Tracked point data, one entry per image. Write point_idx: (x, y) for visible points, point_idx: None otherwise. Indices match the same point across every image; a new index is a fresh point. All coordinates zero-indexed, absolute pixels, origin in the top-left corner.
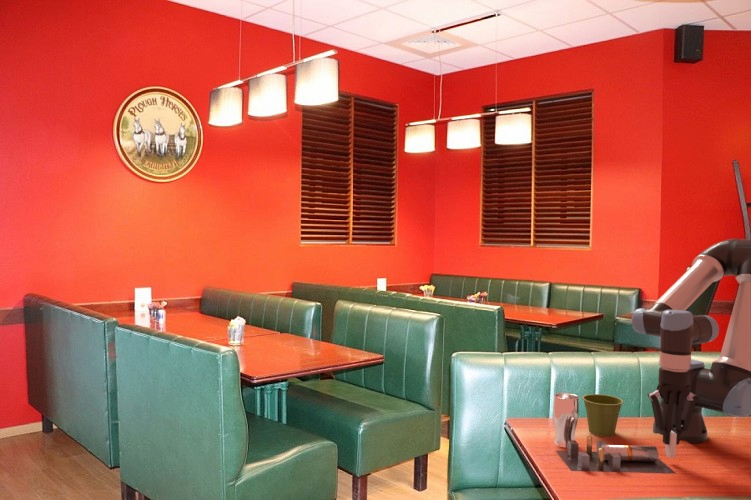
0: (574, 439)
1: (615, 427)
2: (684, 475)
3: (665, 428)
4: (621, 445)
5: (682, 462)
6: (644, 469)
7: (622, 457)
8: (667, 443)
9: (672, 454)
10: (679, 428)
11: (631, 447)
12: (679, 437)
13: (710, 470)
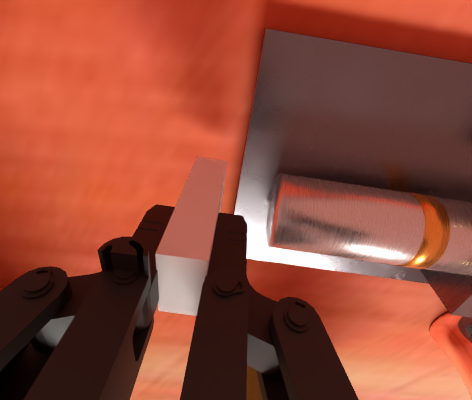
0: (468, 346)
1: (255, 384)
2: (202, 55)
3: (248, 318)
4: (453, 263)
5: (136, 194)
6: (402, 106)
7: (458, 201)
8: (231, 217)
9: (212, 167)
10: (105, 297)
11: (419, 241)
12: (133, 236)
13: (42, 105)
